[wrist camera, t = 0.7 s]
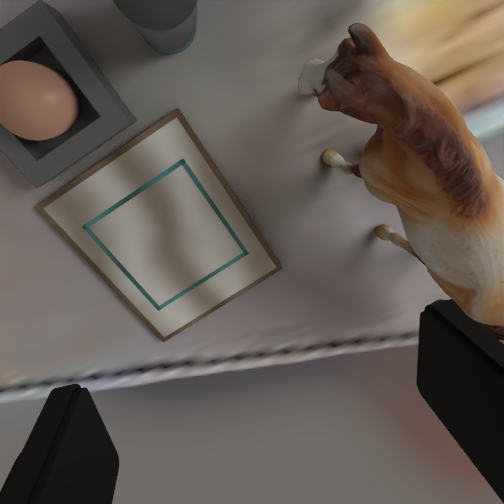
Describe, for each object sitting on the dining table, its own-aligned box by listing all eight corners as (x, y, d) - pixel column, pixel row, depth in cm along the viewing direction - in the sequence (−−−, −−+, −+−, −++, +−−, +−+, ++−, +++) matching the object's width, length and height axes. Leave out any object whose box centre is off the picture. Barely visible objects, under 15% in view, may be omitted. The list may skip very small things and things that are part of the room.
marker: (173, -28, 27) (161, -117, 16) (208, 34, 29) (219, -8, 18) (124, 8, 27) (78, -53, 16) (161, 67, 29) (143, 47, 18)
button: (44, 49, 25) (30, 44, 23) (94, 113, 27) (85, 114, 25) (-11, 89, 26) (-30, 88, 23) (42, 150, 28) (28, 154, 25)
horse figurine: (239, 84, 30) (316, 59, 12) (310, 17, 29) (522, -130, 11) (409, 305, 42) (581, 468, 24) (464, 264, 41) (690, 400, 23)
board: (178, 108, 30) (177, 108, 29) (280, 264, 38) (283, 268, 37) (38, 204, 32) (33, 207, 31) (164, 337, 39) (163, 343, 38)
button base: (58, 11, 27) (40, -1, 23) (136, 120, 30) (130, 123, 27) (-36, 80, 27) (-66, 78, 24) (52, 179, 31) (36, 188, 28)
